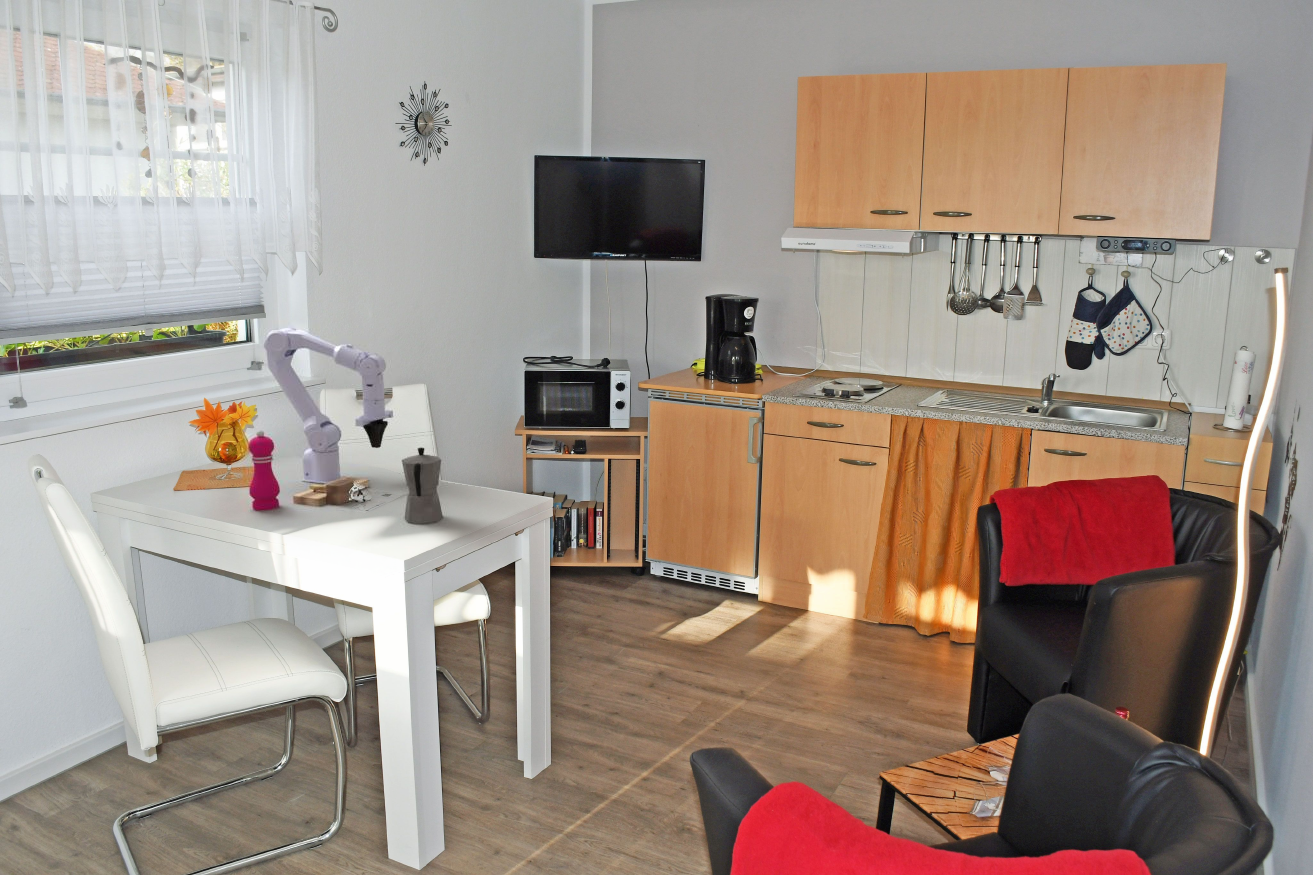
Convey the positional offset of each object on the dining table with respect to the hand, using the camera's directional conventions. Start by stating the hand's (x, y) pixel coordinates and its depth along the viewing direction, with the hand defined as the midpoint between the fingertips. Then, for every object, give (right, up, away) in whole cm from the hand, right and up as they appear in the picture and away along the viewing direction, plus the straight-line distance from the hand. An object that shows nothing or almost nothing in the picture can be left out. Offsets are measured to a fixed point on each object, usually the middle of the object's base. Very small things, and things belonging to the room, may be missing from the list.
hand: (376, 447), depth 272 cm
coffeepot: (+21, -18, -33) cm, 43 cm away
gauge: (-7, -14, -17) cm, 23 cm away
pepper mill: (-21, -15, -24) cm, 35 cm away
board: (-8, -13, -12) cm, 19 cm away
